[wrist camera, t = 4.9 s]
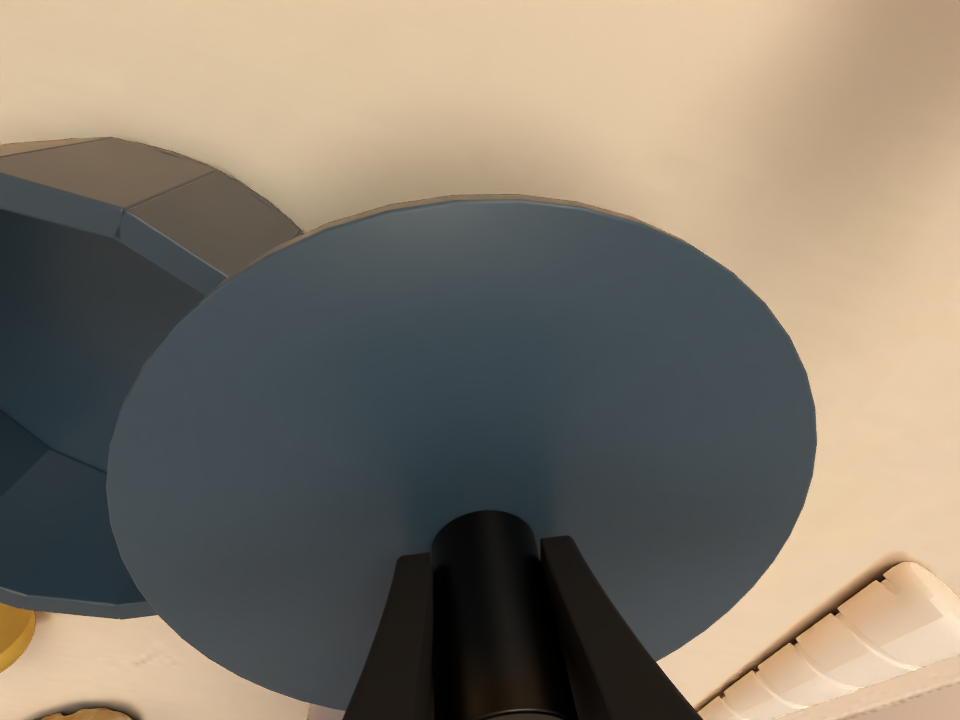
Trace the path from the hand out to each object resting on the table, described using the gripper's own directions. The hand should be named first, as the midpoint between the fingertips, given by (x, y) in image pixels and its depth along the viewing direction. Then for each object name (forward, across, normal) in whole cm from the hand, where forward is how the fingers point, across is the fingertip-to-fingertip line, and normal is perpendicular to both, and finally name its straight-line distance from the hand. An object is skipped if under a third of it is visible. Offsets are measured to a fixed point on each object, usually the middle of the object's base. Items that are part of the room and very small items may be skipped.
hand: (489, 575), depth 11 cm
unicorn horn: (+11, -21, +27) cm, 36 cm away
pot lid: (+1, 0, 0) cm, 1 cm away
